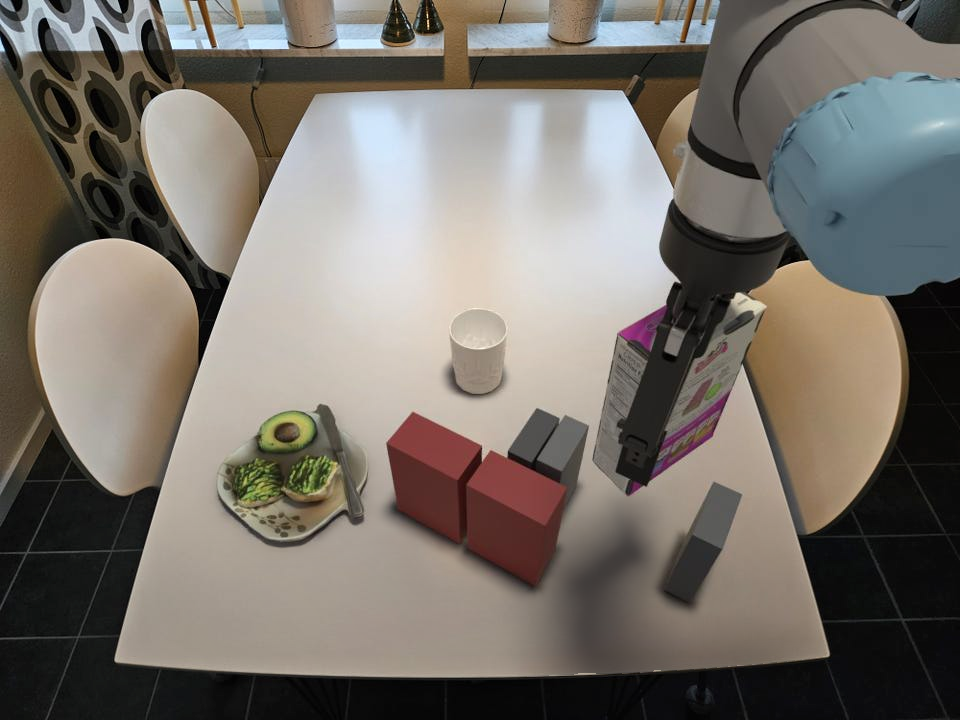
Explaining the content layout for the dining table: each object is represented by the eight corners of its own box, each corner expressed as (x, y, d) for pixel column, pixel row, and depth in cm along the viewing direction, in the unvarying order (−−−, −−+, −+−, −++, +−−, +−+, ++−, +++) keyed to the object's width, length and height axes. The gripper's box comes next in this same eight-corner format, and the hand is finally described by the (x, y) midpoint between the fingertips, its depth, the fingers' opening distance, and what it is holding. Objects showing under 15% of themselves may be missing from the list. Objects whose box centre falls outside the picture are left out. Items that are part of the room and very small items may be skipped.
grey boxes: (689, 603, 71) (722, 549, 62) (504, 506, 79) (507, 445, 70) (708, 552, 75) (742, 494, 66) (530, 464, 83) (537, 401, 74)
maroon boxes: (535, 586, 73) (545, 526, 62) (397, 509, 79) (385, 443, 69) (555, 550, 75) (567, 487, 65) (420, 479, 82) (412, 411, 72)
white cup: (514, 368, 95) (517, 319, 87) (489, 405, 90) (491, 357, 83) (467, 350, 97) (466, 300, 90) (441, 385, 92) (437, 336, 85)
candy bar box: (672, 404, 62) (719, 270, 50) (713, 438, 60) (772, 305, 48) (586, 460, 58) (615, 329, 46) (626, 500, 55) (667, 371, 43)
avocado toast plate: (411, 479, 82) (408, 458, 79) (298, 581, 73) (290, 563, 69) (313, 400, 90) (307, 379, 87) (201, 483, 81) (189, 463, 78)
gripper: (727, 116, 48) (665, 325, 64) (596, 299, 34) (558, 509, 50) (832, 142, 46) (741, 353, 62) (737, 352, 32) (650, 556, 47)
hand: (659, 423), depth 56 cm, fingers closed on candy bar box, 12 cm apart
